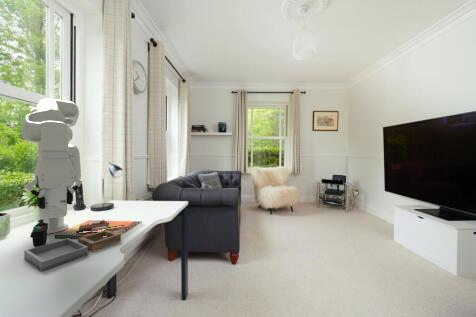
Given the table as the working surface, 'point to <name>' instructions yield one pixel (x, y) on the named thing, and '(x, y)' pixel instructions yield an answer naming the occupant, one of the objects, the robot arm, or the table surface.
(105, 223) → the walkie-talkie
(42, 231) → the controller
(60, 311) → the table surface
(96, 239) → the holder
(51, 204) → the skincare box
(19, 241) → the table surface
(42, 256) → the tray
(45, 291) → the table surface
